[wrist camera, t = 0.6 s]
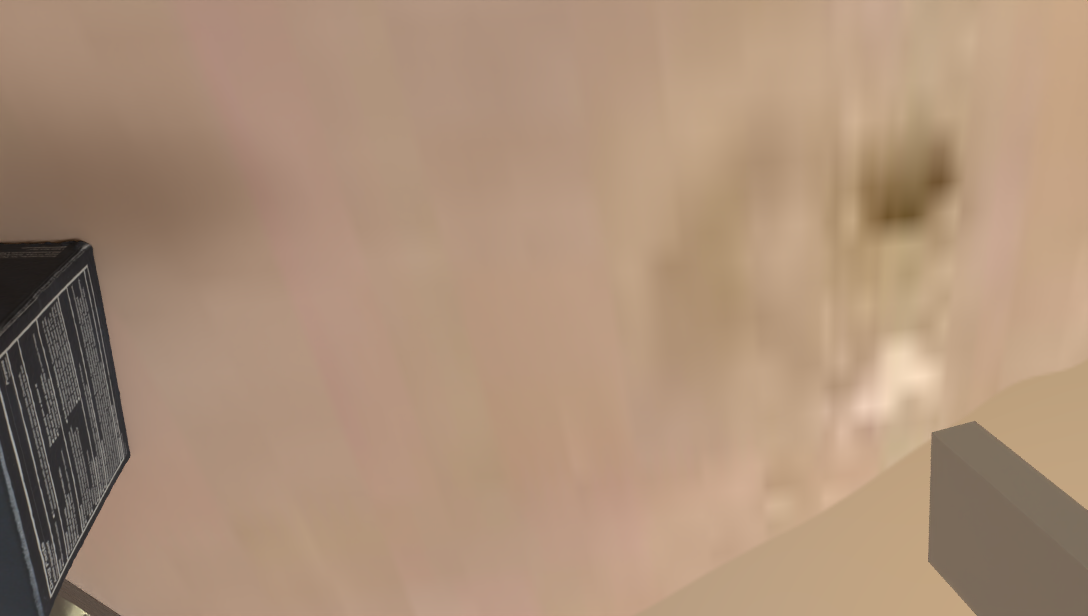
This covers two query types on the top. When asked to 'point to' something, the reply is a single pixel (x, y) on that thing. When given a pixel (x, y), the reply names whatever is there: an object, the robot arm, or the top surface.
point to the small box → (52, 418)
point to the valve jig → (77, 603)
